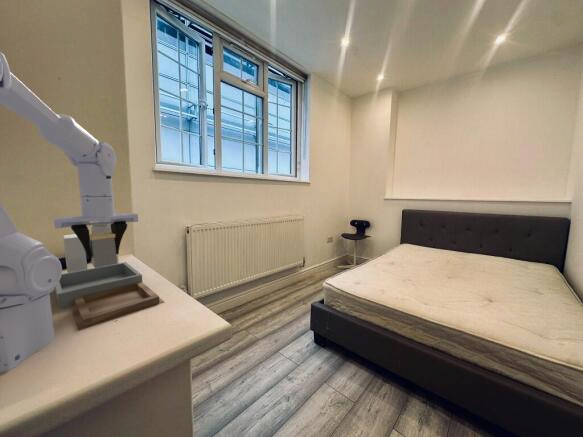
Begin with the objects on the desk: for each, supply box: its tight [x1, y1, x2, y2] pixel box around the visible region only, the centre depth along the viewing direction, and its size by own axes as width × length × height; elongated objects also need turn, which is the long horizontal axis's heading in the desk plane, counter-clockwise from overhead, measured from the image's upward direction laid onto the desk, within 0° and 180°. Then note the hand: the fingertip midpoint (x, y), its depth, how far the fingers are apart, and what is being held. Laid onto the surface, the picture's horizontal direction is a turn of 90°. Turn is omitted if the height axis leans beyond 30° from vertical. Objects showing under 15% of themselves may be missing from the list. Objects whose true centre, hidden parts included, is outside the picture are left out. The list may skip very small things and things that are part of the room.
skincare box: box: [62, 233, 88, 273], centre depth 67 cm, size 6×4×12 cm
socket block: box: [69, 281, 166, 332], centre depth 50 cm, size 14×14×2 cm
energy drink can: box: [91, 220, 120, 264], centre depth 74 cm, size 6×6×15 cm
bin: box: [54, 261, 143, 309], centre depth 58 cm, size 15×15×4 cm
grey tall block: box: [89, 232, 117, 268], centre depth 53 cm, size 4×4×7 cm
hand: (103, 255), depth 54 cm, fingers closed on grey tall block, 4 cm apart
